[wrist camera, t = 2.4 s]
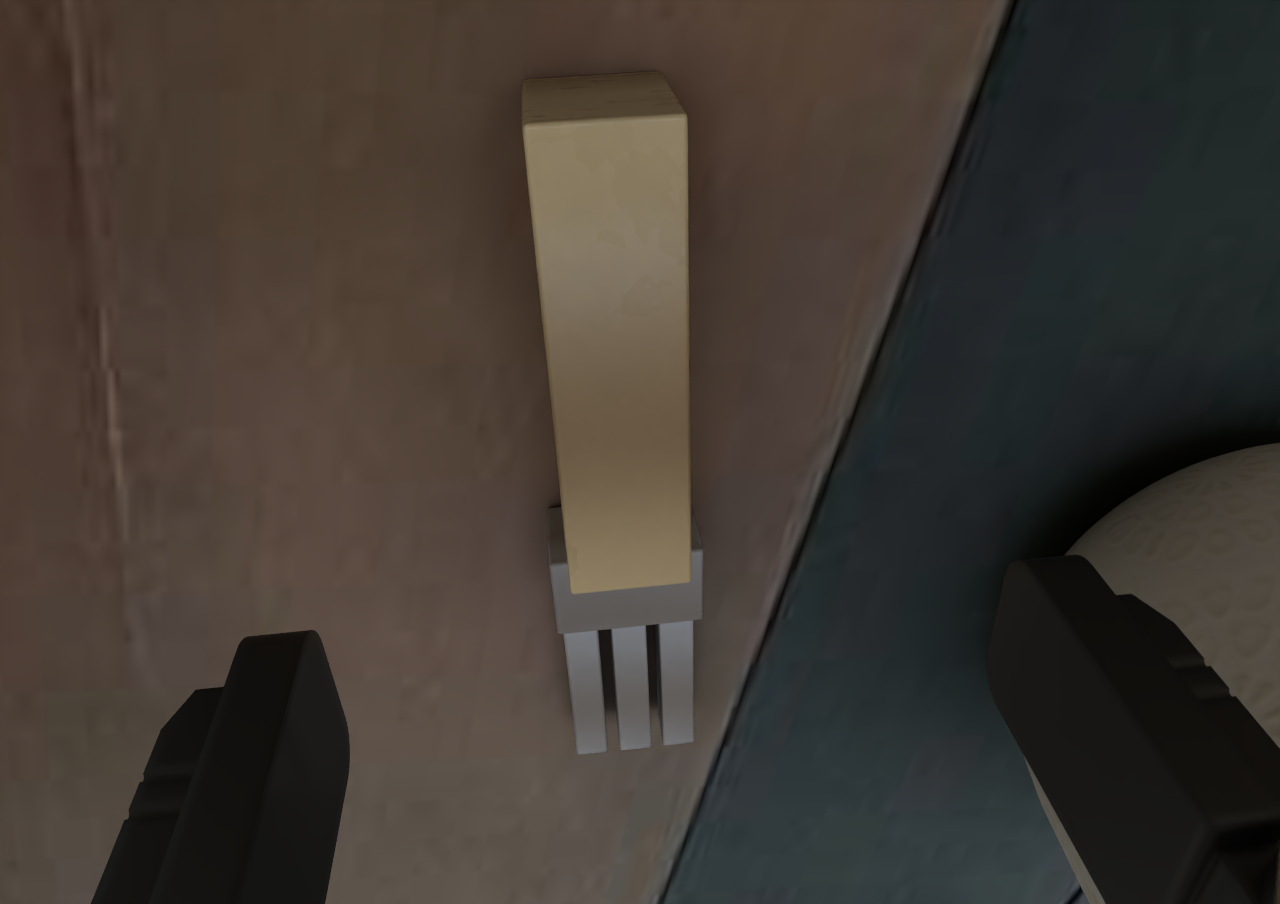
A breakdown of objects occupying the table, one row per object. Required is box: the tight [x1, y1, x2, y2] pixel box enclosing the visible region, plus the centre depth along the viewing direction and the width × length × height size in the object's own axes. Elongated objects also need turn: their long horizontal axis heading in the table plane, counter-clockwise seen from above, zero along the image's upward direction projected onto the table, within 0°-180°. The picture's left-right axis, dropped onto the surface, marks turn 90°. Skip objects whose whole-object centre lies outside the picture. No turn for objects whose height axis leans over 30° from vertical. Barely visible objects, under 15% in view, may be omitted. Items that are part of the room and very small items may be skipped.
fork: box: [521, 71, 703, 755], centre depth 19 cm, size 16×3×3 cm, turn 2°
